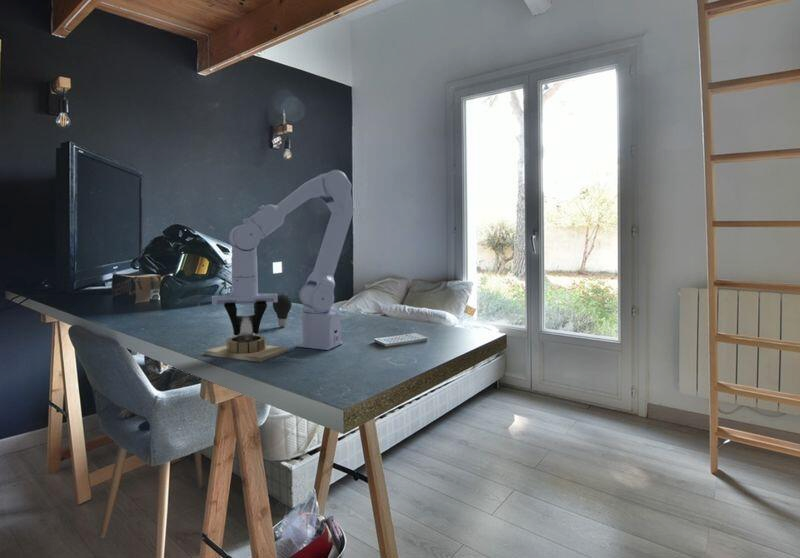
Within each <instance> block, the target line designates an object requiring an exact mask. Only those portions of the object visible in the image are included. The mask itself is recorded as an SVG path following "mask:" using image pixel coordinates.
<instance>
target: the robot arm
mask: <svg viewBox="0 0 800 558" xmlns="http://www.w3.org/2000/svg"><path fill="white" fill-rule="evenodd" d="M352 187H353V185H352V183H351V181H350V180H349V178H348V176H347V175H346V173H345V172H344V171H342V170H339V169H332V170H330V171H329V172H326V173H321V174H318V175H316V176H315V177H314V178H311V179H309V180H308V181H306V182H304V183H303V184H302V185H300V186H298V188H296V189H295V190H294V191H292V192H291V193H290V194H289V195H288V196H286V197H285V198H283V199H282V200H281V201H280V202H278V203H277V204H276V205H275V204H270V203H268V204H267V205H264V204H262V205H260V206H259V207H258V211H256V212H255V213H254V214H253V215H251V216H250V217H248V218H247V217H244V218H243V219H242V223H243V224H240V225H237V226H234V227H233V228H232V229H231V231H230V233H229V235H228V237H227V238H228V241H229V242H228V243H229V244H230V245H231V290H232V291H231V293H232V294H227V295H223V294H222V295H212V296H211V305H212V306H218V305H219V306H220V305H221V306H222V305H223V306H224V309H225V310H226V312H227V315H228V317H229V320H230V322H231V325H232V330H233V336H237V335H238V330H237V313H238V312H237V311H238V308H237V305H238V304H242V305H243V304H253V311H254V312H253V315H254V318H255V335H259V330H260V325H261V322H262V319H263V316H264V313H265V312H266V310H267V308H268V304H267V303H273V302H278V293H276V292H275V293H259V283H258V282H259V281H258V280H259V278H258V277H259V276H258V256H257V255H258V253H257V251H258V250H257V247H258V246H259V244H260V241H261V240H264V239H265V238H267V236H269V235H270V234H272V233H273V232H274V231H276V230H277V229H278V228H281V226H283V225H284V222H285V217H286V215H288V214H290V213H291V212H292V211H294V210H295V209H297V208H298V207H300V206H301V205H302V204H304V203H306V202H307V201H309V200H310V199H313V198H319V199H320V200H321V201H323V202H324V203H325V204H326V205H327V207H328V210H329V211H330V213H331V214H330V217H329V221H328V223H327V227H326V230H325V232H324V236H323V239H322V242H321V245H320V246H321V247H320V249H319V251H318V255H317V259H316V262H315V265H314V267H313V270H312V272H311V273H310V274H309V276H308V277H307V280H306V283H305V284H304V285H303V286H302V287H301V289H300V291H299V294H298V296H299V301H300V302H301V303H302V304H303V306H302V309H301V313H302V315H301V318H302V320H301V321H302V322H301V323H302V325H301V326H302V328H301V329H302V331H301V332H302V342H299V343H296V344H295V347H297V348H307V349H308V348H309V349H313V350H314V349H315V350H324V351H328V350H331V349H333V348H336V347H338V346H339V345H342V344H343V343H344V342H343V341H342V319H341V318H342V317H341V315H340V314H339V312H334V311H332V307H333V305H334V303H335V287H336V282H335V278H334V276H335V273H336V270H337V266H338V262H339V260H340V257H341V253H342V250H343V246H344V243H345V240H346V237H347V234H348V231H349V228H350V225H351V221H352V219H353V215H354V211H355V209H354V203H353V196H352Z"/></svg>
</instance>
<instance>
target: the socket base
mask: <svg viewBox="0 0 800 558" xmlns="http://www.w3.org/2000/svg"><path fill="white" fill-rule="evenodd" d="M266 340H267V339H266V336H264V335H260V334H255V341H250V342H237V335H233V336H230V337H228V338H227V339H226V343H225V344H221V345H218V346H215V347H211V348H208V349H204V350H203V351H204V355H205V356H211V357H219V358H220V357H221V358H229V359H235V360H241V361H249V362H257V363H258V362H259V363H262V362H265V361H267V360H270V359H271V358H275V357H277V356H280V355H282V354H285V353H288V347H286V346H285V347H284V346H278V345H276V346H275V345H268V344H267V343H266V342H267V341H266Z"/></svg>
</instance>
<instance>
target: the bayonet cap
mask: <svg viewBox="0 0 800 558" xmlns="http://www.w3.org/2000/svg"><path fill="white" fill-rule="evenodd" d="M237 330H238V335H236V336H237V342H250V341H255V335H256V334H255V318H254V314H251V313H247V314H246V313H245V314H238V315H237Z"/></svg>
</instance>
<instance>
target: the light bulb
mask: <svg viewBox="0 0 800 558" xmlns="http://www.w3.org/2000/svg"><path fill="white" fill-rule="evenodd" d="M277 296H278V302H272V308H273V310H274V312H275V313H276V318H277V321H278V326H280V328H285V327H286V326H287V323H288V322H287V320H288V319H287V318H288V316H289V315H288V314H289V313H290V311H291V309H292V300H291V298H290V296H287V295H286V294H279V295H278V294H277Z"/></svg>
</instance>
